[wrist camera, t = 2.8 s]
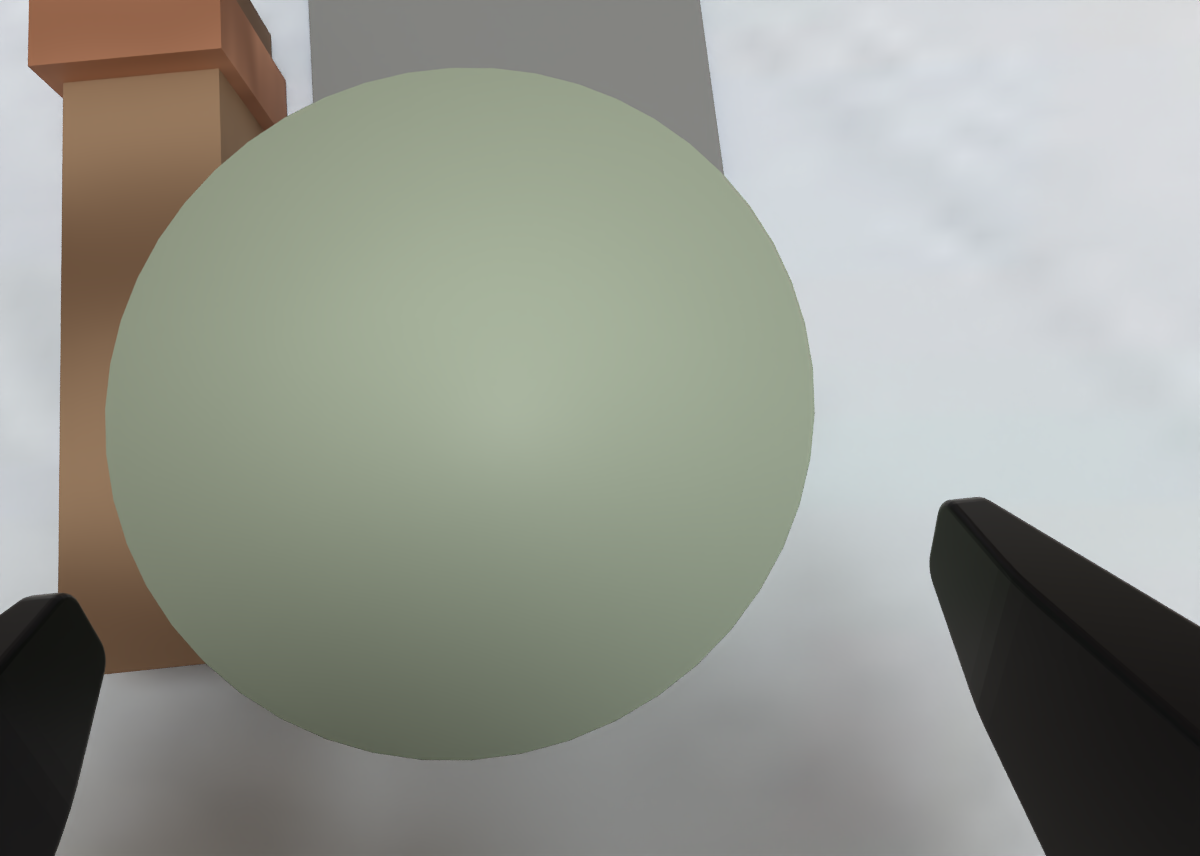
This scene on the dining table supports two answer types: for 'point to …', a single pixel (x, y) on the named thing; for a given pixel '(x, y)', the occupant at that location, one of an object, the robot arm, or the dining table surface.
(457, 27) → the slate pad
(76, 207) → the post
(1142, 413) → the dining table surface
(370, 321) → the sage green knob
